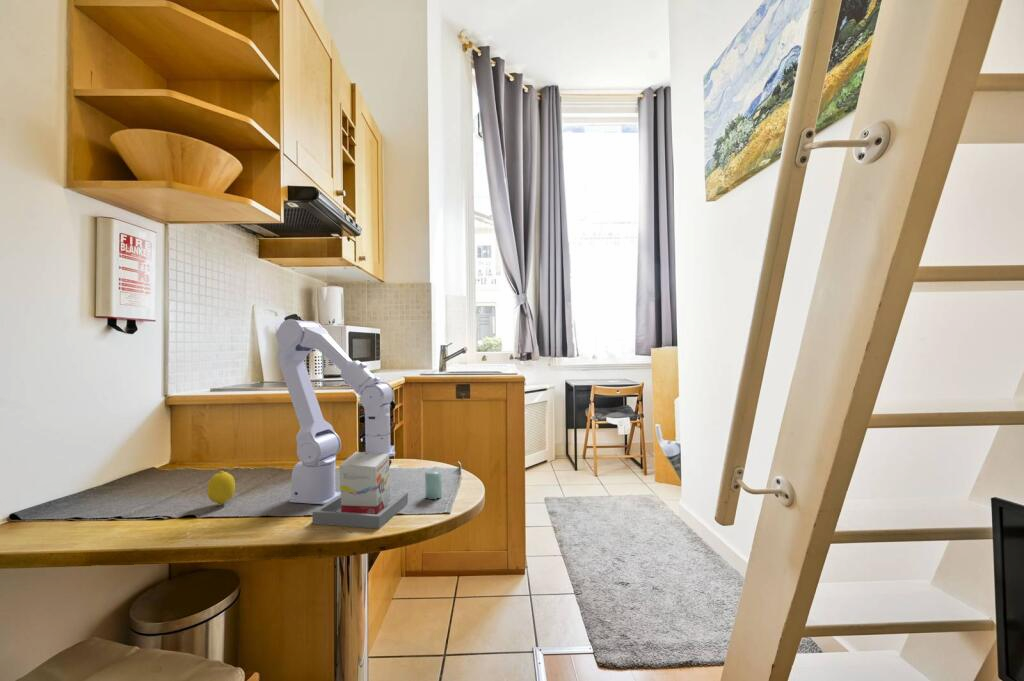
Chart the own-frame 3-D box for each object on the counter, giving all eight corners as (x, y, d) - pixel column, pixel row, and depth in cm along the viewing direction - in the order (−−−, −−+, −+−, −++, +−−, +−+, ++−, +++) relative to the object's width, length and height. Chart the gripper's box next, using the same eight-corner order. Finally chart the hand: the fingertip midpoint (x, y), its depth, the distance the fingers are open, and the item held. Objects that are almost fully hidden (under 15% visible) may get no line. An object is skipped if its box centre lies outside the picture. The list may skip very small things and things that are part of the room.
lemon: (235, 506, 107) (236, 471, 107) (207, 511, 104) (207, 475, 104) (234, 499, 112) (234, 466, 112) (207, 503, 109) (207, 470, 109)
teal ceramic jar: (423, 499, 112) (423, 474, 113) (427, 494, 116) (428, 470, 117) (439, 499, 112) (439, 474, 112) (443, 494, 116) (443, 470, 116)
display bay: (312, 523, 97) (312, 511, 97) (348, 499, 112) (349, 489, 112) (379, 528, 95) (379, 516, 95) (407, 503, 109) (407, 493, 109)
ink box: (377, 518, 101) (375, 466, 99) (340, 516, 102) (337, 465, 100) (392, 499, 109) (389, 451, 108) (357, 497, 110) (354, 450, 108)
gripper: (380, 440, 102) (381, 502, 102) (405, 428, 116) (406, 482, 116) (350, 440, 103) (351, 500, 103) (379, 428, 118) (380, 481, 118)
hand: (379, 491), depth 110 cm, fingers closed, pressing on ink box
